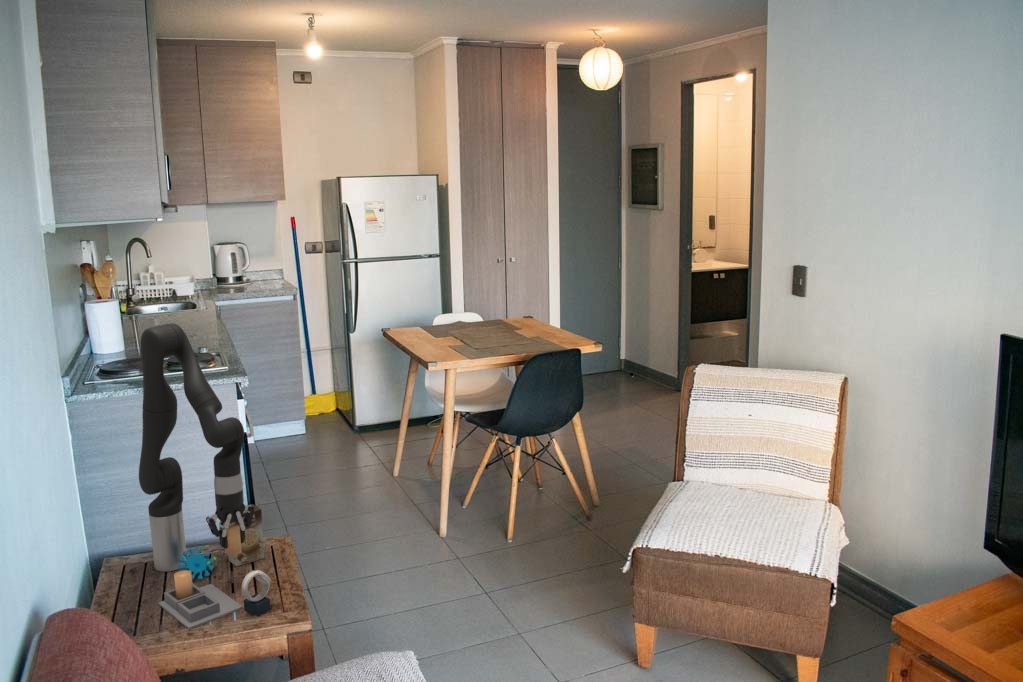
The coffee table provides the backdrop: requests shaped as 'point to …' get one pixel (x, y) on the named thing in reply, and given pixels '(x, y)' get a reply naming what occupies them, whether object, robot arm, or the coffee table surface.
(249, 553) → the coffee box
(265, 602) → the watch
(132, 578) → the coffee table surface
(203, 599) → the housing
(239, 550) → the orange peg
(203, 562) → the blue knobbed wheel
